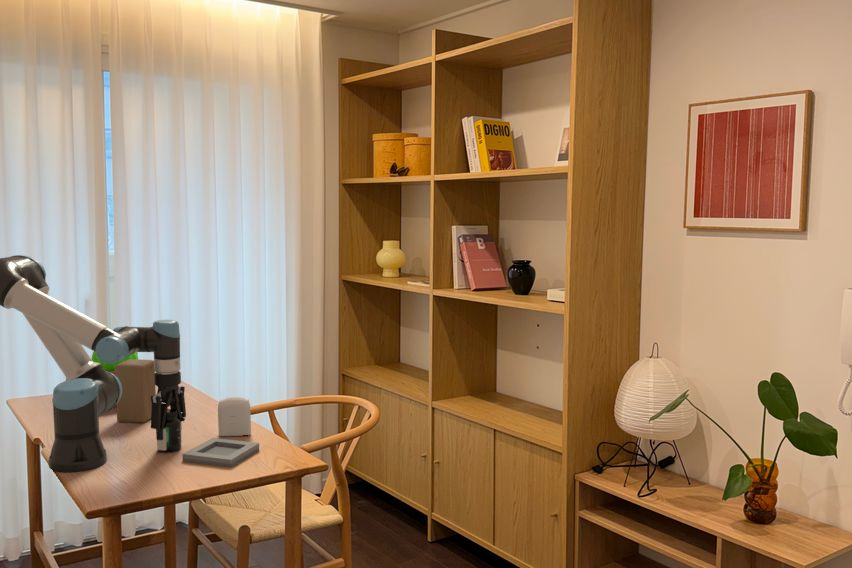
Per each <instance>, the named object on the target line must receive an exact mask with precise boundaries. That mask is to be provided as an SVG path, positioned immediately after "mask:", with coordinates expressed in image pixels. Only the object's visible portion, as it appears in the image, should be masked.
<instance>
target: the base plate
mask: <svg viewBox="0 0 852 568" xmlns="http://www.w3.org/2000/svg"><path fill="white" fill-rule="evenodd" d="M259 451H260V443H259V442H253V441H243V440H236V439H228V438H227V439H224V438H216V437H212V438H210V439H208V440H206V441H204V442H203V443H201V444H199V445H197V446H194V447H193V448H191V449H189V450H187V451H185V452H183V453H182V457H181V458H182V462H186V463H193V464H202V465H210V466H218V467H225V468H233V467H234V466H236V465H238V464H239V463H241V462H242V461H244V460H245V459H247V458H249V457H251V456H252V455H254V454H255V453H257V452H259Z"/></svg>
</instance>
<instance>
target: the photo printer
mask: <svg viewBox="0 0 852 568" xmlns="http://www.w3.org/2000/svg"><path fill="white" fill-rule="evenodd" d="M251 414H252V413H251V404H250V400H249V399H248V398H246V397H239V396H238V397H237V396H232V397H225V398H223V399H220V400H219V401H218V405H217V421H218V422H217V423H218V425H217V426H218V436H219V437H240V436H241V437H242V436H243V435H248V436H250V435H251V434H252V426H251V425H252V421H251V418H252V417H251V416H252V415H251ZM249 434H250V435H249Z"/></svg>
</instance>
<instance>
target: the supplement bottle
mask: <svg viewBox="0 0 852 568" xmlns="http://www.w3.org/2000/svg"><path fill="white" fill-rule="evenodd" d="M160 425H161V424H160ZM181 425H182V421H180V419H178V418H177V410H176V409H171V408H168V409H167V414H166V420H165V425H164V429H166V448H167V450H165V451H164V450H158V451H159V452H161V453H166V454H167V453H168V452H169V453H174V451H175V452H178V451H179V450H181V449H182V442H181V440H182V429H181Z"/></svg>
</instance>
